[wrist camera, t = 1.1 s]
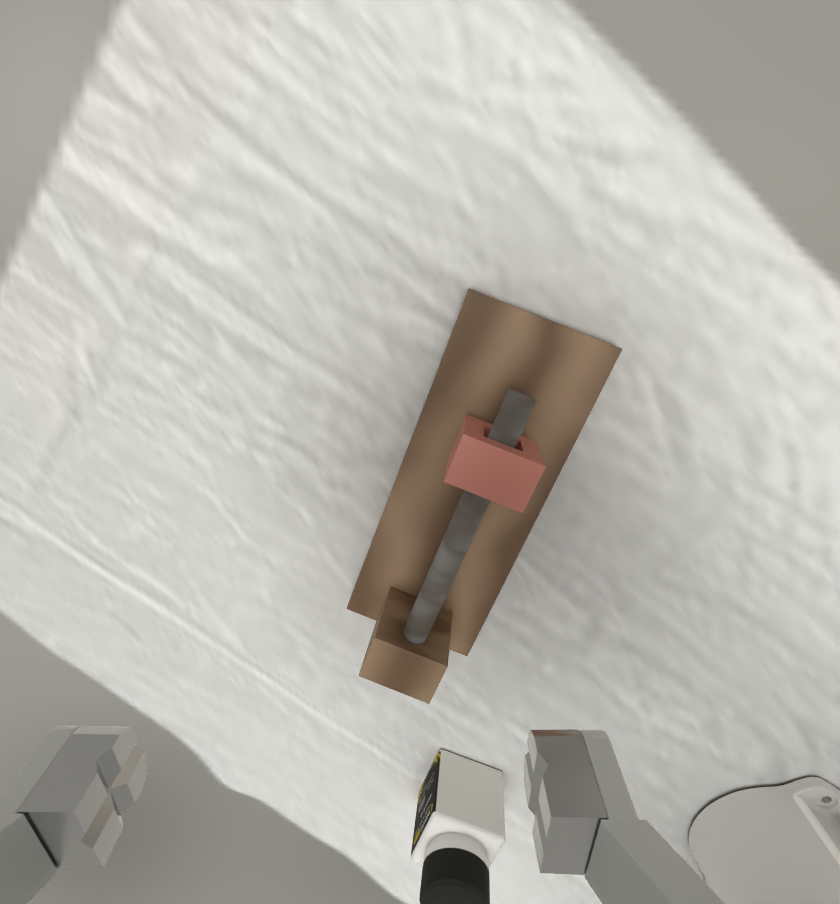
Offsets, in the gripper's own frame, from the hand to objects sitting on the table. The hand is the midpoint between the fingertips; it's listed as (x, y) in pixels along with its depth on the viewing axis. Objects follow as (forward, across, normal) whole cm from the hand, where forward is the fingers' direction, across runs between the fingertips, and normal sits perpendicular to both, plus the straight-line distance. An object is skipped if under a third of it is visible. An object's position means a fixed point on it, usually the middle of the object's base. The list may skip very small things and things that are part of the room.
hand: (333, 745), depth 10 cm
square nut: (+27, +7, -6) cm, 28 cm away
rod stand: (+30, +6, -11) cm, 33 cm away
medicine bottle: (+26, +6, -45) cm, 52 cm away
